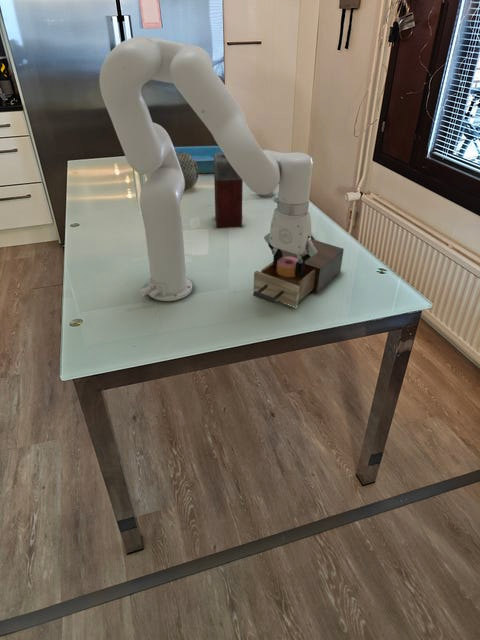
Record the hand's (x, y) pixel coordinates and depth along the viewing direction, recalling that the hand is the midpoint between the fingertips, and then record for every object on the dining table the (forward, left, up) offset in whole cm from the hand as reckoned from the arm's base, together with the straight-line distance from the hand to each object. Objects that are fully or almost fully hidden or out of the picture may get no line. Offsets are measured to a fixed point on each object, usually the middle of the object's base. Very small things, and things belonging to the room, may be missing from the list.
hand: (288, 269), depth 124 cm
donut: (0, 0, -1) cm, 1 cm away
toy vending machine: (+29, +42, -7) cm, 52 cm away
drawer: (-2, 0, -6) cm, 7 cm away
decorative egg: (+44, +76, -7) cm, 88 cm away
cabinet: (+12, 0, -7) cm, 14 cm away
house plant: (+59, +44, -7) cm, 74 cm away
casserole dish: (+67, +91, -7) cm, 113 cm away
